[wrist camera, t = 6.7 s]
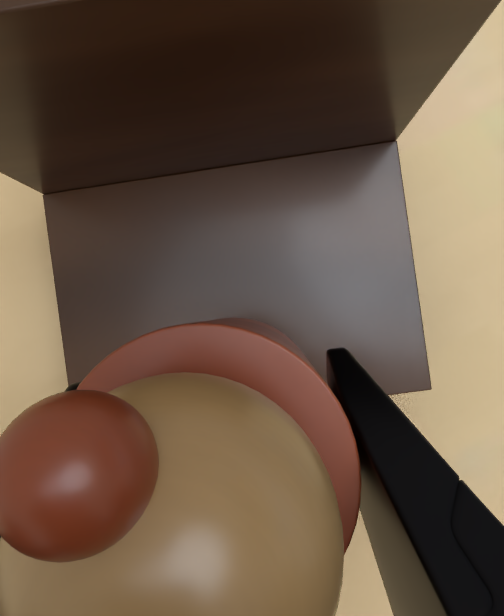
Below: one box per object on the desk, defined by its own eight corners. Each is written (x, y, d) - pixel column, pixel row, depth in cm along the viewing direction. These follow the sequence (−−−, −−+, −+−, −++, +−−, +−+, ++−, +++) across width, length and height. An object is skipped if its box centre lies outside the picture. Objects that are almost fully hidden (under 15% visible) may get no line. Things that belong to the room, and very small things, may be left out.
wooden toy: (191, 504, 13) (-79, 1175, 3) (130, 354, 14) (-337, 498, 3) (342, 443, 13) (611, 933, 3) (278, 292, 13) (309, 223, 3)
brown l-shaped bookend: (406, 376, 22) (652, 499, 8) (104, 415, 22) (-169, 594, 8) (373, 147, 22) (560, -138, 8) (75, 193, 22) (-246, 4, 8)
